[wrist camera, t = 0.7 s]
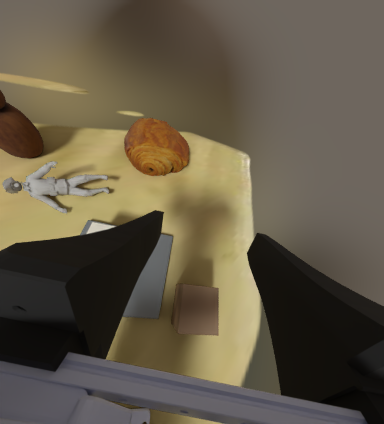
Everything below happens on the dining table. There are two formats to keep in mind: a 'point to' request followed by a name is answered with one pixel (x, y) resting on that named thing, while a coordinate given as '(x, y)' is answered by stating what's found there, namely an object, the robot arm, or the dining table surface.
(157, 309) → the slate board
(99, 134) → the dining table surface
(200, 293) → the walnut cube
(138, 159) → the croissant
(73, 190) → the soldier figure
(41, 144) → the wooden figurine
